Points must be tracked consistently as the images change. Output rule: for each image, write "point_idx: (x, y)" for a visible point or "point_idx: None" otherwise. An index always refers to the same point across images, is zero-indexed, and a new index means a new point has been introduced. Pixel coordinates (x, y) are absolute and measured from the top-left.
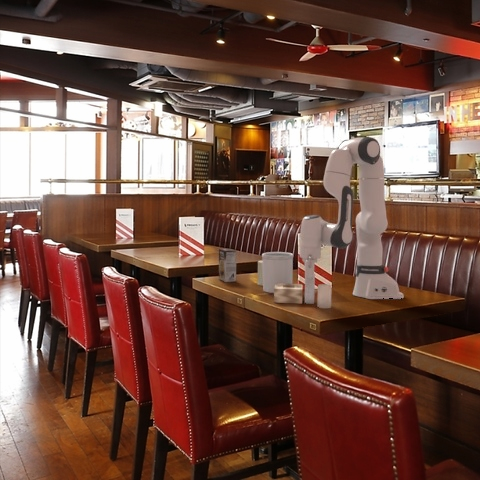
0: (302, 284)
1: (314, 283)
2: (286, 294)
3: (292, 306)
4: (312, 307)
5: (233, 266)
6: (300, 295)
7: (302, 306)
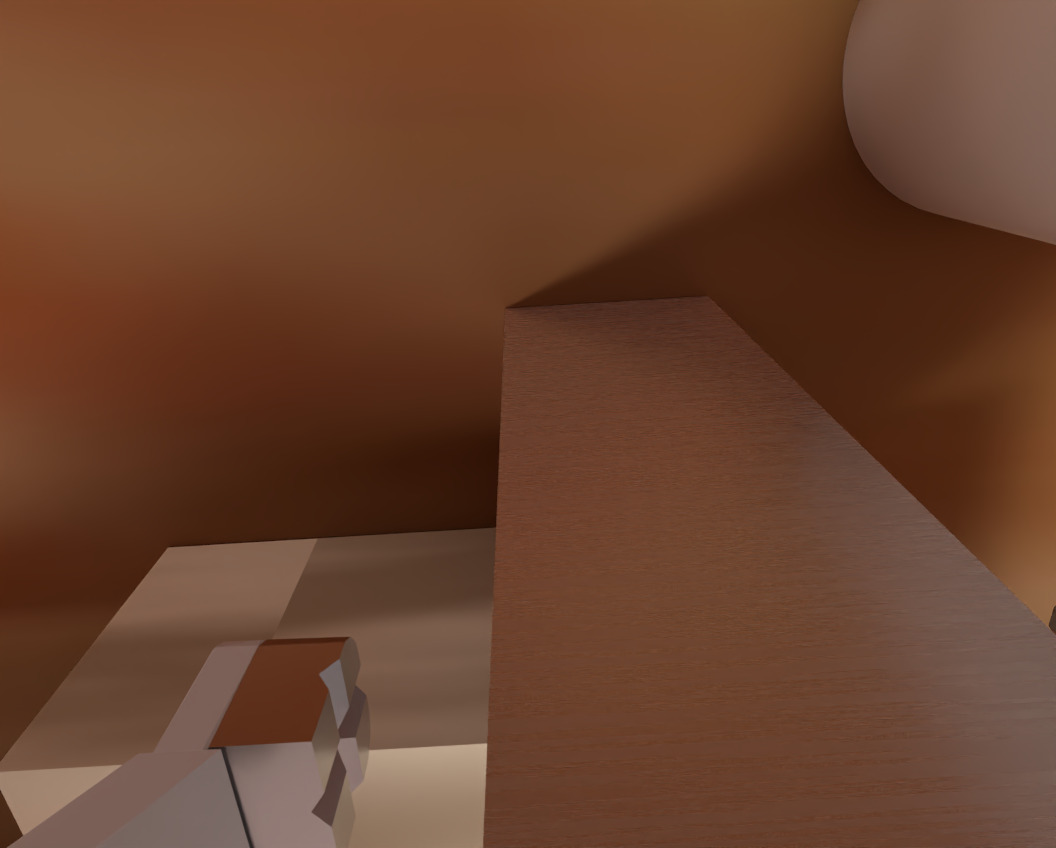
0: (38, 773)
1: (952, 546)
2: None
3: None
4: (1045, 312)
5: None
6: None
7: (950, 493)
